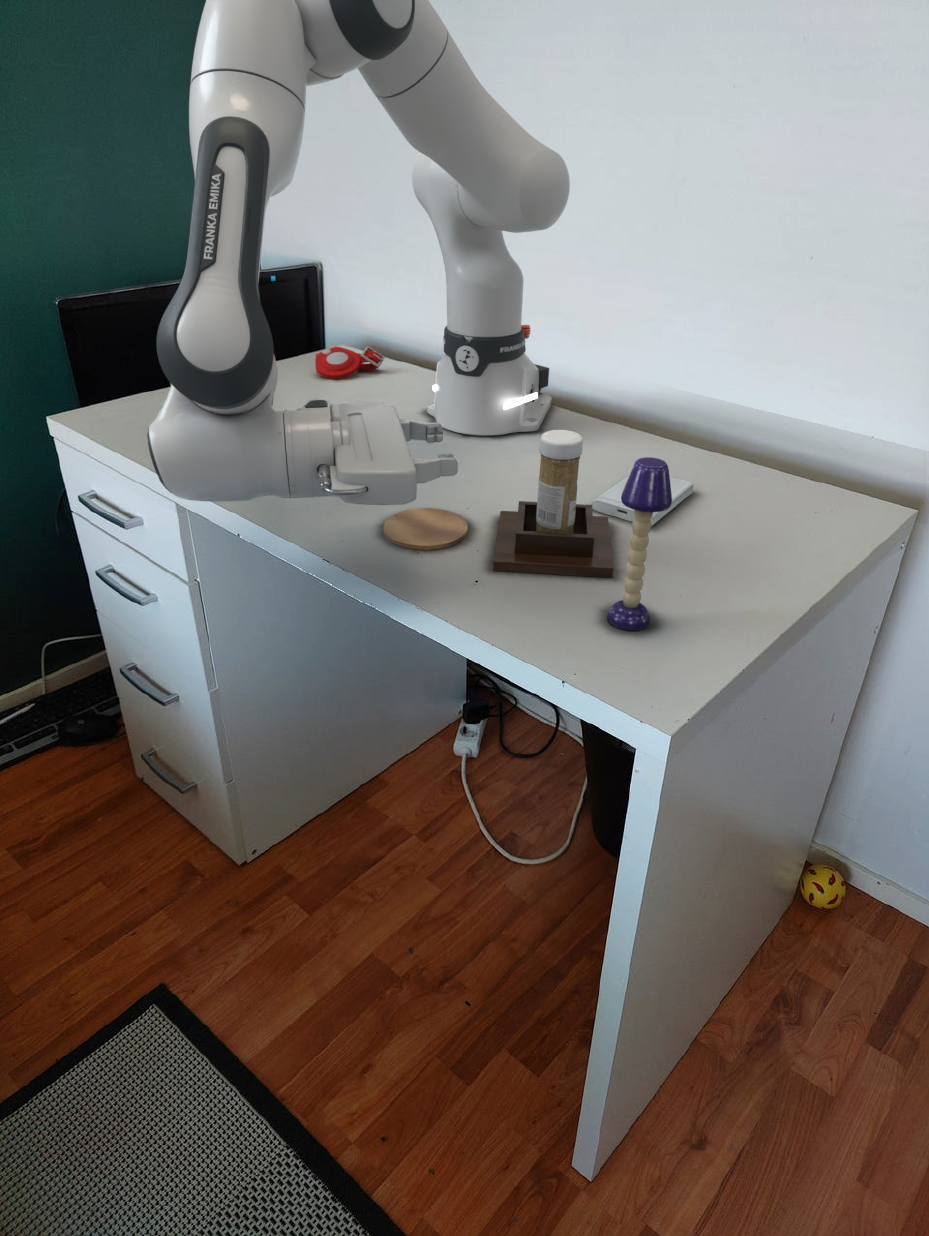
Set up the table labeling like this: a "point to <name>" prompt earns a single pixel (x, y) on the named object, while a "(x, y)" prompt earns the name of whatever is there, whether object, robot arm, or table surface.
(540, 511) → the sprinkles bottle
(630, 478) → the toy lamp
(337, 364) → the red tape dispenser
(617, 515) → the hard drive
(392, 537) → the coaster
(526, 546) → the holder
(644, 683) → the table surface
